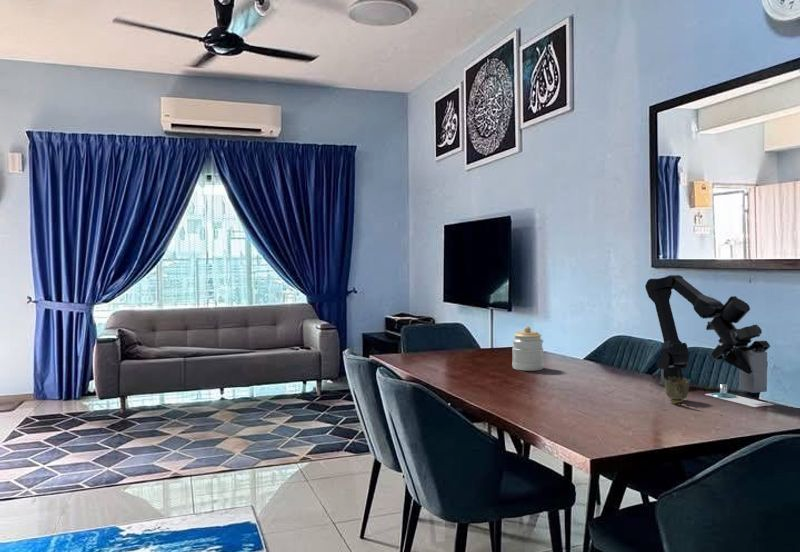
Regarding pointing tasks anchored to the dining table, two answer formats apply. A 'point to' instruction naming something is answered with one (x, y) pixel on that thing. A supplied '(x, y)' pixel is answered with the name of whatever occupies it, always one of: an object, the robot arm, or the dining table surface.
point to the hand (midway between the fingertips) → (756, 372)
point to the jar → (527, 351)
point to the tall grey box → (754, 372)
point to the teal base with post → (723, 392)
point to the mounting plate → (745, 401)
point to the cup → (676, 389)
